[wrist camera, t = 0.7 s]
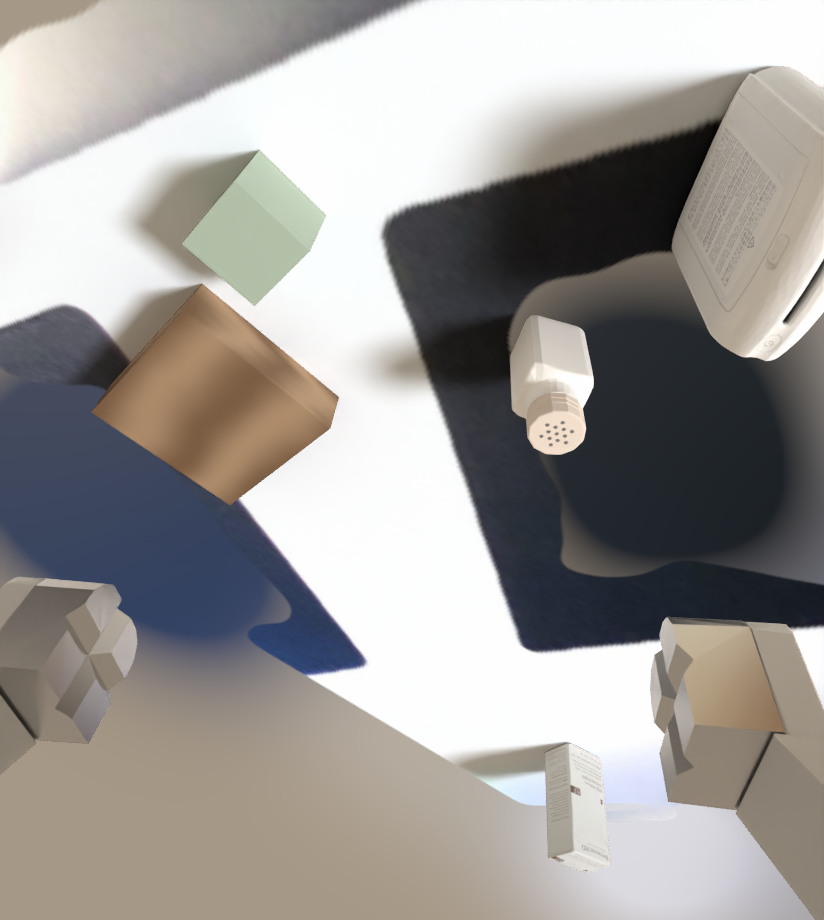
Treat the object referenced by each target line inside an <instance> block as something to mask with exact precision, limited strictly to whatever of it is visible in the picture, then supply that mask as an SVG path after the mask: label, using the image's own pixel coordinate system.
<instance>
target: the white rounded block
mask: <svg viewBox="0 0 824 920" xmlns="http://www.w3.org/2000/svg"><path fill="white" fill-rule="evenodd" d="M672 252H673V254H674V256H675V258H676V261H677V262H678V265H679V267H680V269H681V271H682V273H683V275H684V278H685V280H686V282H687V284H688V286H689V288H690V290H691V293H692V295H693V297H694V300H695V302H696V304H697V306H698V309H699V311H700V313H701V315H702V317H703V319H704V322H705V324H706V326H707V329H708V330H709V332H710V334H711V336H712V337H713V338H715V340H717V342H719V343H720V344H721V345H722V346H723V347H725V348H727V349H728V350H730V351H732V352H734V353H735V354H737V355H739V356H742V357H756V358H760V359H762V360H765V361H770V360H774V359H776V358H778V357H779V356H780V355H782V354H783V353H784V352H786V351H787V350H788V349H789V348H790V347H791V346H793V345H794V344H795V343H796V342H797V341H798V340H799V339H800V338H801V337H802V336H803V335H804V334H805V333H806V332H807V331H808V330H809V329H810V328H811V326H812V325H813V324H814V323H815V322H816V320H817V319H818V318H819V317H820V316H821V315H822V313H823V312H824V89H822V88H821V87H820V86H818V85H817V84H815V83H814V82H813V81H811V80H810V79H808V78H807V77H806V76H804V75H803V74H801V73H800V72H799V71H797V70H795V69H793V68H790V67H784V66H776V67H770V68H767V69H764V70H761V71H759V72H757V73H756V74H752V73H750V74H749V75H748V76H747V77H746V78H745V80H744V81H743V83H742V84H741V86H740V87H739V89H738V91H737V92H736V94H735V96H734V98H733V100H732V101H731V103H730V105H729V108H728V110H727V112H726V114H725V116H724V118H723V120H722V122H721V124H720V126H719V129H718V131H717V133H716V135H715V138H714V140H713V142H712V144H711V146H710V148H709V151H708V153H707V155H706V158H705V160H704V162H703V164H702V167H701V169H700V171H699V173H698V176H697V178H696V180H695V183H694V185H693V187H692V189H691V192H690V194H689V196H688V199H687V201H686V203H685V206H684V208H683V211H682V213H681V216H680V218H679V221H678V224H677V226H676V229H675V233H674V236H673V241H672Z"/></svg>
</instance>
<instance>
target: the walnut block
mask: <svg viewBox="0 0 824 920" xmlns="http://www.w3.org/2000/svg"><path fill="white" fill-rule="evenodd" d="M338 398H339V397H338V396H337V395H336V394H334V393H333V392H332V391H331V390H329V389H328V388H327V387H326V386H325V385H323V384H322V383H321V382H320V381H319V380H317V379H316V378H315V377H314V376H313V375H311V374H310V373H309V372H308V371H307V370H305V369H304V368H303V367H302V366H301V365H299V364H298V363H297V362H296V361H295V360H293V359H292V358H291V357H290V356H289V355H287V354H286V353H285V352H284V351H283V350H281V349H280V348H279V347H278V346H277V345H275V344H274V343H273V342H272V341H271V340H269V339H268V338H267V337H266V336H265V335H263V334H262V333H261V332H260V331H259V330H257V329H256V328H255V327H254V326H253V325H251V324H250V323H249V322H248V321H246V320H245V319H244V318H243V317H242V316H240V315H239V314H238V313H237V312H236V311H234V310H233V309H232V308H231V307H230V306H228V305H227V304H226V303H225V302H224V301H222V300H221V299H220V298H219V297H218V296H216V295H215V294H214V293H213V292H212V291H210V290H209V289H208V288H207V287H206V286H204V285H203V284H202V285H201V286H200V287H199V288H198V289H197V290H196V291H195V293H194V294H193V295H192V296H191V297H190V298H189V299H188V300H187V301H186V302H185V304H184V305H183V306H182V307H181V308H180V309H179V310H178V311H177V312H176V313H175V315H174V316H173V317H172V318H171V319H170V320H169V321H168V322H167V323H166V324H165V325H164V327H163V328H162V329H161V330H160V331H159V332H158V333H157V334H156V335H155V336H154V338H153V339H152V340H151V341H150V342H149V343H148V344H147V345H146V346H145V347H144V349H143V350H142V351H141V352H140V353H139V354H138V355H137V356H136V357H135V358H134V360H133V361H132V362H131V363H130V364H129V365H128V366H127V367H126V368H125V369H124V371H123V372H122V373H121V374H120V375H119V376H118V377H117V378H116V379H115V380H114V382H113V383H112V384H111V385H110V387H109V388H108V390H107V391H106V392H105V394H104V395H103V397H102V398H101V399H100V401H99V402H98V404H97V405H96V406H95V408H94V409H93V410H92V413H93V414H95V415H96V416H98V417H99V418H101V419H102V420H104V421H105V422H107V423H108V424H109V425H111V426H113V427H114V428H116V429H117V430H119V431H120V432H121V433H123V434H124V435H126V436H127V437H129V438H130V439H132V440H133V441H135V442H136V443H138V444H139V445H141V446H142V447H144V448H145V449H147V450H148V451H150V452H151V453H153V454H154V455H156V456H158V457H159V458H160V459H162V460H163V461H165V462H166V463H168V464H169V465H171V466H172V467H174V468H175V469H177V470H178V471H180V472H181V473H183V474H184V475H186V476H187V477H189V478H190V479H192V480H193V481H195V482H196V483H198V484H199V485H201V486H202V487H204V488H205V489H207V490H208V491H210V492H211V493H213V494H214V495H215V496H217V497H218V498H220V499H221V500H223V501H224V502H226V503H227V504H229V505H231V504H232V503H233V502H235V501H236V500H237V499H239V498H240V497H241V496H242V495H244V494H245V493H246V492H248V491H249V490H250V489H252V488H253V487H254V486H256V485H257V484H258V483H259V482H261V481H262V480H263V479H265V478H266V477H267V476H269V475H270V474H271V473H273V472H274V471H275V470H276V469H278V468H279V467H280V466H282V465H283V464H284V463H286V462H287V461H288V460H290V459H291V458H292V457H293V456H295V455H296V454H297V453H299V452H300V451H301V450H303V449H304V448H305V447H307V446H308V445H309V444H310V443H312V442H313V441H314V440H316V439H317V438H318V437H320V436H321V435H322V434H324V433H325V432H326V431H327V430H329V429H330V427H331V424H332V420H333V416H334V413H335V409H336V406H337V402H338Z"/></svg>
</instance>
